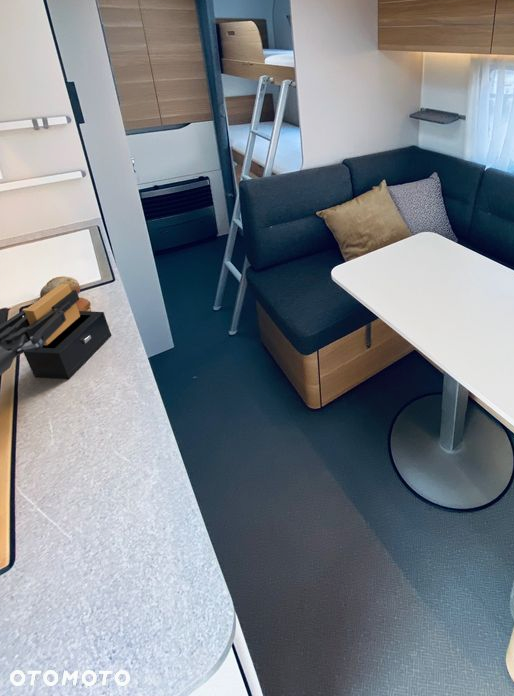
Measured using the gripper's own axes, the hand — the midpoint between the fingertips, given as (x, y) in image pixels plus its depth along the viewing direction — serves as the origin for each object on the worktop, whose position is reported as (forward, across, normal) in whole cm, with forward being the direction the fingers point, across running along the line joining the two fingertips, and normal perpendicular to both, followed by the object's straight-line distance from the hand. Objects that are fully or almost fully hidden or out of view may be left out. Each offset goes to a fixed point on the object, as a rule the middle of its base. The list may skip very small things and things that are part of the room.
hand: (70, 294), depth 99 cm
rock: (+22, -27, -18) cm, 40 cm away
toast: (-6, 0, -6) cm, 8 cm away
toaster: (-2, -3, -18) cm, 18 cm away
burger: (+12, -15, -18) cm, 27 cm away
